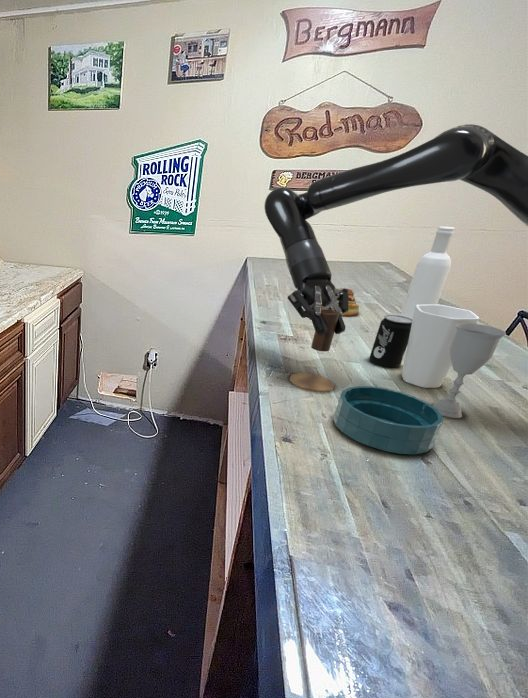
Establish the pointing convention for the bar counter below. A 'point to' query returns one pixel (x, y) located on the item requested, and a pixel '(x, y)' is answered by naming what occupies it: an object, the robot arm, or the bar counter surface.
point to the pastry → (350, 305)
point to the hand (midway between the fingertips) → (331, 332)
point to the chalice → (468, 359)
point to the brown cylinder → (325, 340)
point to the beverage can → (391, 341)
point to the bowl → (387, 419)
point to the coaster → (312, 382)
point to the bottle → (430, 274)
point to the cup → (432, 343)
